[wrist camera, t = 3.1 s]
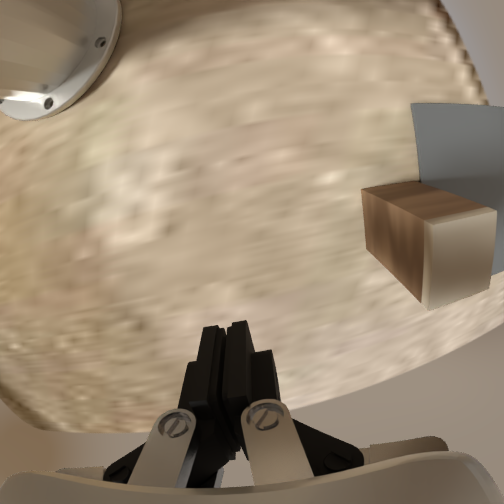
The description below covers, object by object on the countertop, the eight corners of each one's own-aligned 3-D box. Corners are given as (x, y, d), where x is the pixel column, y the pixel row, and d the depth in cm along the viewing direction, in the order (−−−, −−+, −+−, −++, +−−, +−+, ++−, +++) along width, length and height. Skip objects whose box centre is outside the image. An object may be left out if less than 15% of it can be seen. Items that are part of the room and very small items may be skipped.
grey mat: (410, 103, 18) (412, 103, 17) (507, 107, 17) (509, 107, 17) (419, 298, 23) (421, 300, 23) (506, 267, 23) (508, 268, 23)
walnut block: (360, 189, 20) (433, 225, 12) (414, 180, 20) (497, 210, 11) (366, 248, 22) (428, 311, 13) (416, 237, 21) (489, 288, 13)
